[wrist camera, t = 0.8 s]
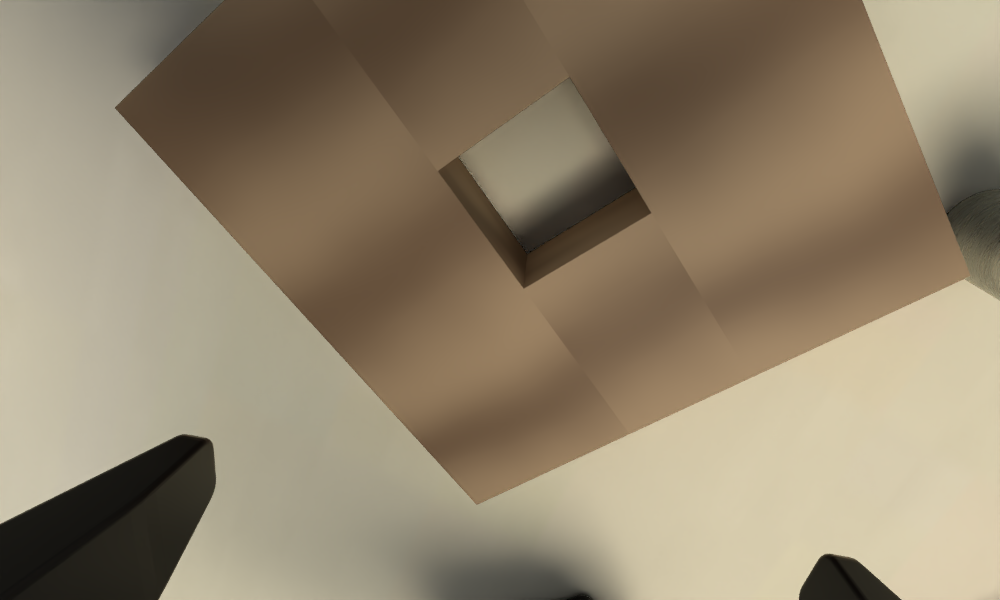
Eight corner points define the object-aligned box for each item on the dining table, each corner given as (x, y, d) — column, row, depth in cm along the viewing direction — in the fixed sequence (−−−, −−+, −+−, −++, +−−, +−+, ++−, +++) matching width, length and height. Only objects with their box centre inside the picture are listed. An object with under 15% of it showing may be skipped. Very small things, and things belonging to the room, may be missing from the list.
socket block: (911, 240, 19) (970, 275, 16) (484, 452, 25) (476, 504, 22) (657, -356, 13) (684, -451, 11) (176, 96, 19) (114, 107, 16)
